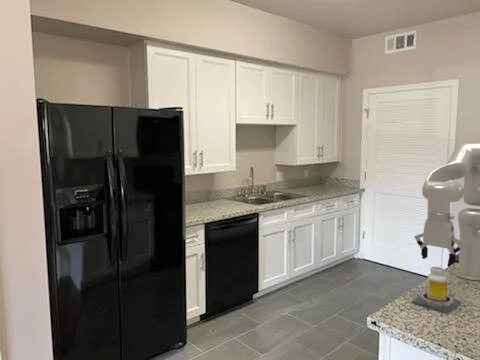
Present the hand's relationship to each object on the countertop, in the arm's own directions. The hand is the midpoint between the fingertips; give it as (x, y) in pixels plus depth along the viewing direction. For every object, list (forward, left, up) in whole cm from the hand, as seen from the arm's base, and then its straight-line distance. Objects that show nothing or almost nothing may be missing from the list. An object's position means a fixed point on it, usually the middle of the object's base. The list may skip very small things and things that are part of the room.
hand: (437, 260), depth 140 cm
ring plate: (+1, 0, -17) cm, 17 cm away
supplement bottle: (0, 0, -16) cm, 16 cm away
